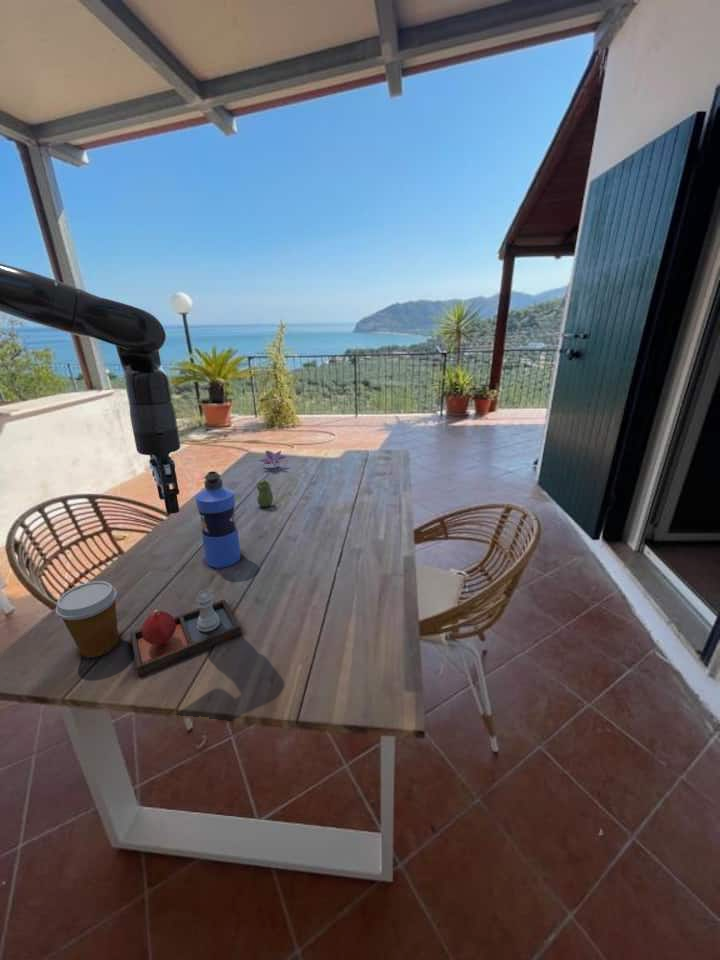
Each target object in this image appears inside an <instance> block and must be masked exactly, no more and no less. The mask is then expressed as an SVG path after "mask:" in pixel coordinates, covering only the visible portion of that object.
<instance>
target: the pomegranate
mask: <svg viewBox="0 0 720 960" xmlns="http://www.w3.org/2000/svg"><path fill="white" fill-rule="evenodd" d="M173 617H174V616H173V615H171V614H170V613H169V612H166V611H163V610H159V609H154V611H153V612H151V613H150V615H148V616H147V618H146V619H145V621H144V622H143V625H142V626H141V629H142V635H143V638H144V640H145V641H146V642H148V643H149V644H152V645H164V644H165V643H166V642H167V641H168V640H169V639H170V638H171V637H172V636H173V634H174V632H175V630H176V623H175V620H174V618H173Z"/></svg>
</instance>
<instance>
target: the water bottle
mask: <svg viewBox="0 0 720 960" xmlns="http://www.w3.org/2000/svg"><path fill="white" fill-rule="evenodd" d="M221 477H222V475H221V474H219V473H218V472H217V471H209V472H207V474H205V476H204V479H205V480H204V488H205V489H204V490H202V491H200V492H199V493H197V494H196V495H195V504H196V509H197V511H198V514H199V517H200V521H201V538H202V544H203V550H204V557H205V564H206V565H207V566H209V567H211V568H214V569H215V568H216V569H217V568H220V569H221V568H227V567H230V566H232V565H235V564H237V563H238V562H239V561H240V559H241V557H242V556H241V555H242V554H241V548H240V539H239V531H238V526H237V522H236V518H235V511H236V510H235V506H236V499H235V492H234V490H233V489H230V488H226V487H223V480H222V478H221Z"/></svg>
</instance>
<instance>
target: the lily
mask: <svg viewBox="0 0 720 960" xmlns="http://www.w3.org/2000/svg"><path fill="white" fill-rule="evenodd" d="M264 455H265V457H264V458H262V459H260V460H259V462H261V463H263V465H264V464H270V465H273V464H274V467H276V465H275V463H279V464H280V461H281V460H284V459H287V458H288V455H284V454H282V450H279V451H276V452H275V453H274V452H272V451H270V450H265V451H264ZM271 463H272V464H271ZM274 469H275V468H274ZM275 472H276V473H277V468H276V469H275Z"/></svg>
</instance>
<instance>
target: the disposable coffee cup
mask: <svg viewBox="0 0 720 960" xmlns="http://www.w3.org/2000/svg"><path fill="white" fill-rule="evenodd" d="M117 595H118V592H117V589H116V587H114V586H113V585H112V583H110V582H108V581H104V580H103V581H102V580H97V581H90V582H85V583H82V584H79V585H76V586H75V587H72V588H70V589H68V590H66V591H65V592H64V593H63V594H62V595H60V596H59V598H58V599H57V602H56V606H55V612H56V615H57V616H58V617H59V618H61V619H62V621H63V623H64V624H65V626H66V628H67V630H68V631H69V634H70V636H71V638H72V639H73V641H74V643H75V645H76V647H77V649H78V650H79V653H80V654H81V655H82V656H83V657H84V658H97V657H100V656H102V655H105V654H106V653H109V652H110V651H112V650H113V649H115V647H116V646H117V645H118V643H119V629H118V617H117V605H116V598H117Z"/></svg>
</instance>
